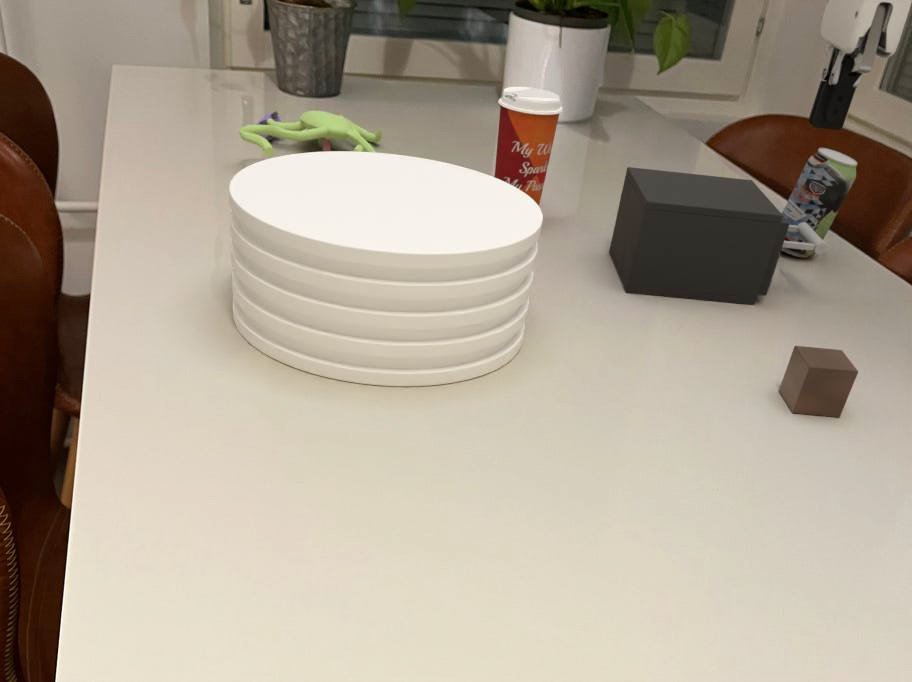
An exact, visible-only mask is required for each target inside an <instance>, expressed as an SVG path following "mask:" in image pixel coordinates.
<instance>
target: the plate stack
mask: <svg viewBox="0 0 912 682" xmlns="http://www.w3.org/2000/svg"><path fill="white" fill-rule="evenodd" d="M228 191H229V192H228V194H229V195H228V198H229V199H228V201H229V207H230V210H231V212H230V216H229V232H230V237H231V244H230V260H231V267H232V271H231V290H232V295H233V297H232V318H233V323H234V325H235V327H236V329H237V331H238V332H239V334H240V335H241V336H242V337H243V339H245V340H246V342H247V343H248V344H250V345H251V346H253V348H255V349H257V351H260V352H261V353H262V354H264V355H266V356H268V357H269V358H272V359H273V360H275V361H277V362H279V363H282V364H283V365H287V366H289V367H292V368H295V369H297V370H299V371H302V372H306V373H310V374H313V375H316V376H320V377H324V378H328V379H331V380H336V381H337V380H338V381H343V382H349V383H354V384H362V385H371V386H383V387H427V386H428V387H429V386H439V385H447V384H448V385H449V384H453V383H459V382H463V381H468V380H472V379H475V378H479V377H482V376H484V375H488V374H491V373H492V372H494V371H497V370H498V369H500V368H502V367H503V366H505V365H506V364H508V363H509V362H510V361H512V360H513V359H514V358H515V357H516V356H517V354H518V353H519V352H520V349H521V347H522V345H523V341H524V335H525V329H526V327H525V323H526V320H527V316H528V311H529V305H530V297H529V296H530V295H531V292H532V289H533V288H532V287H533V281H534V268H535V266H536V263H537V257H538V252H539V243H538V241H539V239H540V237H541V233H542V228H543V222H544V216H543V215H544V214H543V211H542V209H541V207H540V205H539V206H538V204H537V203H536V202H535V201H534V200H533V199H532V198H531V197H529V196H528V195H527V194H526V193H524V192H523V191H521V190H519V189H518V188H516V187H514V186H512V185H510V184H508V183H506V182H504V181H502V180H500V179H497V178H495V176H492V175H490V174H486V173H483V172H481V171H477V170H475V169H472V168H467V167H464V166H460V165H456V164H452V163H448V162H444V161H440V160H435V159H429V158H423V157H418V156H412V155H411V156H410V155H404V154H403V155H401V154H396V153H385V152H376V153H375V152H356V151H353V150H349V151H348V150H330V151H326V152H325V151H311V152H309V151H308V152H301V153H300V152H299V153H291V154H286V155H279V156H275V157H269V158H267V159H263V160H260V161H257V162H255V163H251V164H250V165H248V166H246V167H244V168H243V169H240V170H239V171H238V172H237V173H236V174H234V176H233V177H232V178H231V180H230V182H229V186H228Z"/></svg>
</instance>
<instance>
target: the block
mask: <svg viewBox="0 0 912 682" xmlns="http://www.w3.org/2000/svg"><path fill="white" fill-rule="evenodd" d="M858 374H859V371H858V369H857V368H856V367H855V364H853V363H852V361H851V360H850V358H848V356H847V355H846V354H845V352H844V351H843V350H842V349H835V348H824V347H813V346H805V345H804V346H803V345H802V346H801V345H794V347H793V350H792V352H791V355H790V357H789V362H788V363H787V366H786V369H785V372H784V374H783V378H782V380H781V383H780V386H779V388H778V392H779V393H780V396H781V397H782V398H783V400H784V402H785V403H786V405H787V406H788V408H789V410H790V411H791V413H792V414H800V415H810V416H821V417H833V418H840V417H841V416H842V413H843V410H844V408H845V405H846V403H847V401H848V398H849V396H850V394H851V391H852V389H853V386H854V383H855V381H856V379H857V377H858Z"/></svg>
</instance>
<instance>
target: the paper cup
mask: <svg viewBox="0 0 912 682" xmlns="http://www.w3.org/2000/svg"><path fill="white" fill-rule="evenodd" d="M497 103H498V104H499V118H498V119H499V120H498V128H497V129H498V132H497V143H496V153H495V154H496V155H495V168H494V177H495V178H497V179H500V180H502V181H504V182H506V183H508V184H510V185H512V186H514V187H516V188H518V189H519V190H521V191H523V192H524V193H526V194H527V195H528V196H529V197H531V198H532V199H533V200H534V201H535V202H536V203H537V204H538V206H539V207H540V203H541V199H542V194H543V191H544V186H545V182H546V177H547V172H548V168H549V163H550V159H551V154H552V149H553V144H554V140H555V136H556V131H557V127H558V122H559V118H560V114H562V113H563V110H564V109H563V106H562V103H561V97H560V95H559V94H557V93H555V92H553V91H550V90H547V89H541V88H537V87H529V86H508V87H506V88H504V89H503V91H502V94H501V97H500V98H499V99H498V101H497Z"/></svg>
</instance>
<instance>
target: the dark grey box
mask: <svg viewBox="0 0 912 682" xmlns="http://www.w3.org/2000/svg"><path fill="white" fill-rule="evenodd" d="M782 218H783V215H782V212H781V211H780V210H779V209H778V207H776V206H775V205H774V204H773V202H772V201H771V200H770V199H769V197H767V195H765V193H764V192H763V191H762V190H761V188H760V187H758V186H757V184H756V183H755V182H754V181H753V180H752V179H744V178H736V177H735V178H734V177H726V176H714V175H707V174H696V173H689V172H688V173H687V172H678V171H668V170H660V169H659V170H658V169H650V168H641V167H632V166H631V167H630V166H627V168H626V171H625V176H624V181H623V185H622V189H621V194H620V200H619V204H618V209H617V213H616V218H615V223H614V227H613V231H612V237H611V242H610V247H609V251H608V254H609V255H610V258H611V261H612V262H613V265H614V268H615V269H616V272H617V274H618V277H619V279H620V281H621V283H622V287H623V288H624V290H625V293H629V294H636V295H637V294H639V295H649V296H659V297H669V298H680V299H689V298H690V299H689V300H691V299H692V300H701V301H710V300H711V301H712V302H719V303H730V304H743V305H752V306H753V305H754V306H755V305H756V302H757V299H758V297H759V295H758V293H759V290H760V287H761V284H762V281H763V278H764V275H765V271H766V268H767V265H768V262H769V259H770V256H771V253H772V250H773V246H774V243H775V240H776V237H777V234H778V231H779V228H780V225H781V221H782ZM721 301H722V302H721Z"/></svg>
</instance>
